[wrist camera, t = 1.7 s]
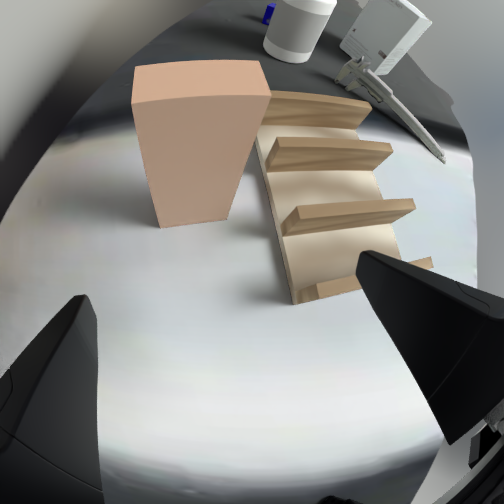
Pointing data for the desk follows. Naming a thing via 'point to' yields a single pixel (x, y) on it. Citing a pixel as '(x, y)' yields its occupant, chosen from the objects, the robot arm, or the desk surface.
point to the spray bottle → (296, 28)
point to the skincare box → (384, 33)
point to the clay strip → (197, 133)
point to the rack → (325, 191)
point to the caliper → (386, 100)
